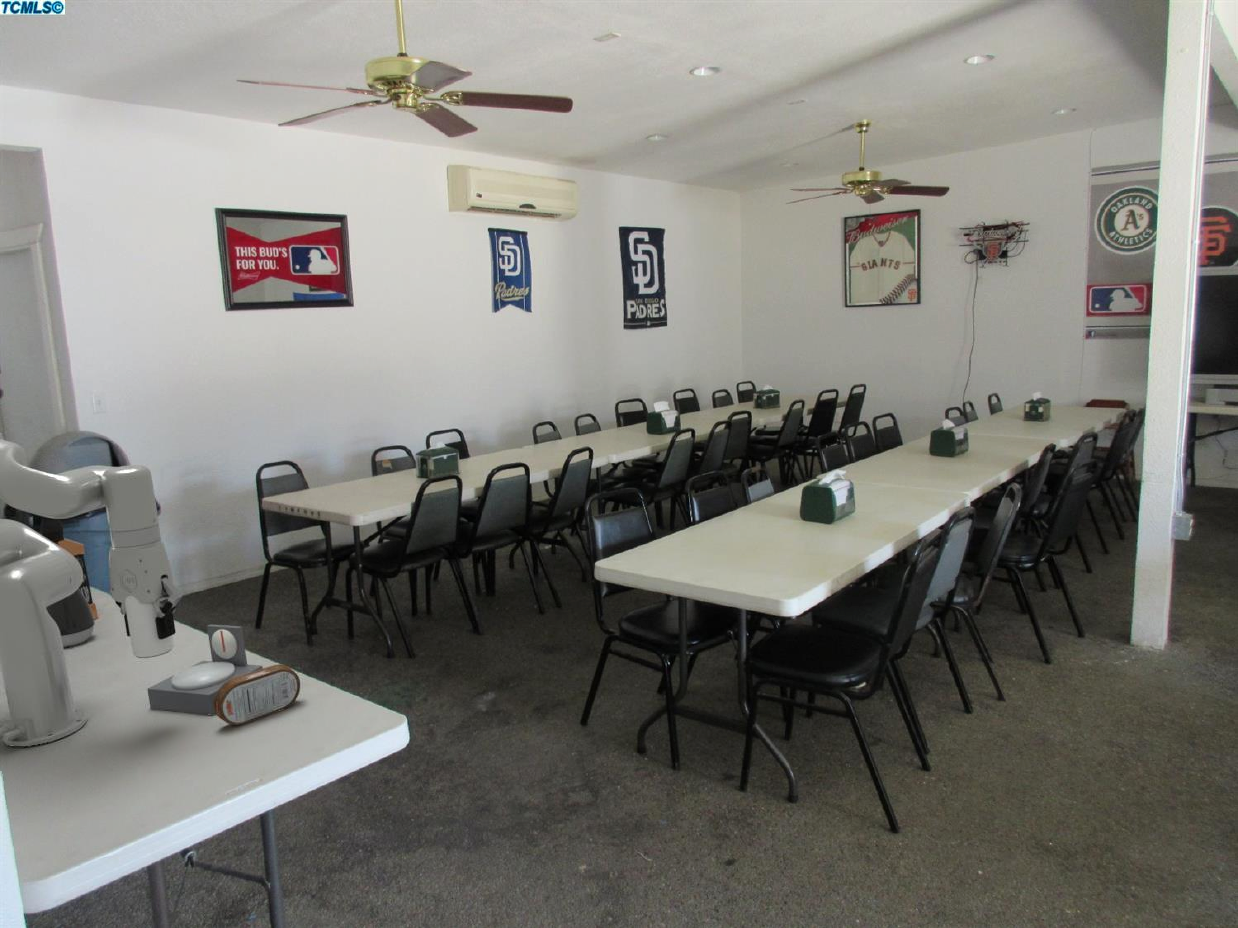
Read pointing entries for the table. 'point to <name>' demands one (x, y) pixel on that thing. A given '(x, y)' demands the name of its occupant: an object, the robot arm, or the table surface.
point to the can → (145, 629)
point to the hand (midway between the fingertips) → (151, 634)
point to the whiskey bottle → (54, 533)
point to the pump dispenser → (73, 618)
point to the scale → (204, 674)
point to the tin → (256, 694)
